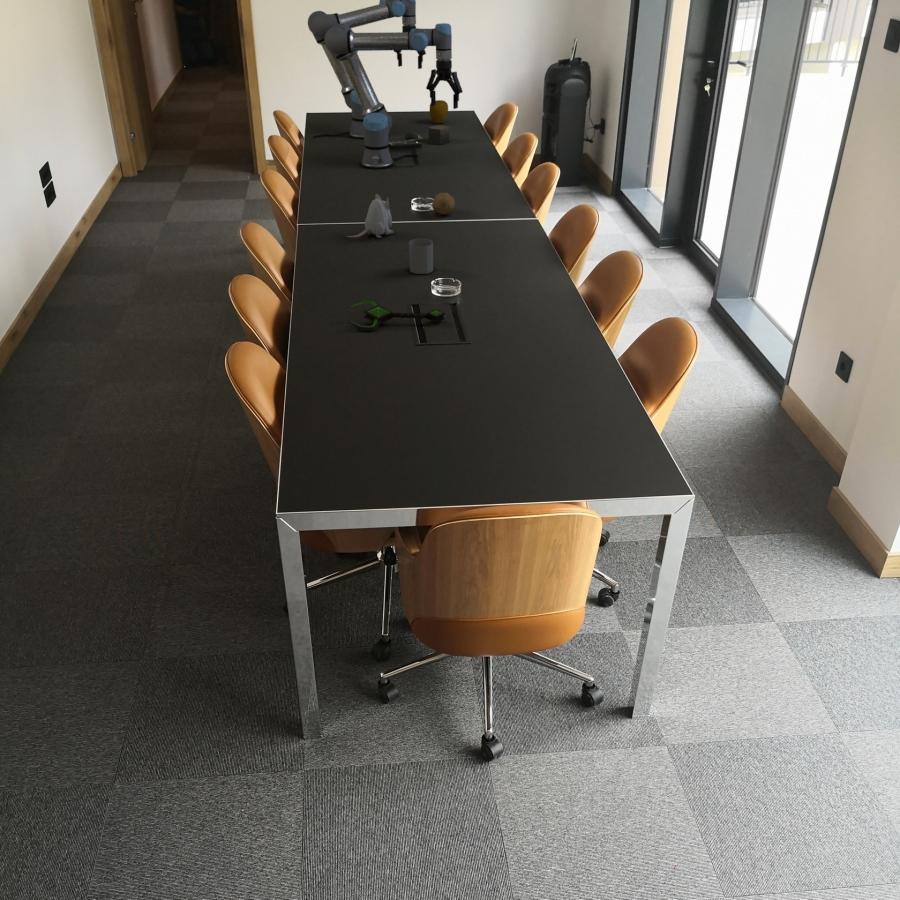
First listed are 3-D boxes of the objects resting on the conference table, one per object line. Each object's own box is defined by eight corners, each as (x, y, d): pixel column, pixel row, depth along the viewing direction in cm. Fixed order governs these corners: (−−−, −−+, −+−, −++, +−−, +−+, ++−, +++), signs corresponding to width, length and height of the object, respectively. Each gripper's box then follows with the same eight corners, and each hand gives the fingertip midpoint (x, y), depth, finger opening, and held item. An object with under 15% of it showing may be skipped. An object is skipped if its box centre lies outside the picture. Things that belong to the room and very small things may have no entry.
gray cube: (437, 140, 472) (437, 124, 467) (449, 142, 468) (449, 126, 464) (428, 143, 466) (428, 127, 462) (440, 145, 462) (440, 129, 458)
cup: (409, 265, 311) (408, 238, 306) (432, 265, 312) (431, 238, 307) (410, 274, 304) (409, 246, 299) (433, 273, 305) (433, 246, 299)
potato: (453, 208, 369) (453, 189, 365) (456, 218, 357) (456, 199, 353) (431, 208, 368) (430, 189, 364) (432, 218, 356) (432, 199, 352)
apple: (448, 125, 501) (448, 101, 494) (429, 125, 501) (429, 101, 494) (448, 121, 510) (448, 98, 504) (430, 121, 511) (429, 97, 504)
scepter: (445, 294, 271) (348, 292, 269) (446, 325, 264) (347, 323, 262) (443, 307, 276) (349, 305, 274) (445, 338, 269) (347, 336, 267)
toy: (399, 233, 341) (398, 195, 333) (354, 248, 327) (351, 208, 319) (383, 228, 346) (382, 190, 338) (338, 242, 332) (335, 203, 324)
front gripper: (418, 58, 416) (419, 105, 428) (460, 63, 404) (460, 111, 415) (428, 56, 421) (429, 102, 433) (469, 60, 409) (469, 108, 420)
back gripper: (386, 24, 473) (388, 66, 485) (423, 27, 461) (424, 70, 473) (394, 22, 478) (396, 64, 490) (431, 26, 467) (432, 68, 478)
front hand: (444, 106), depth 424 cm, fingers open, 13 cm apart
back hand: (410, 67), depth 481 cm, fingers open, 13 cm apart
